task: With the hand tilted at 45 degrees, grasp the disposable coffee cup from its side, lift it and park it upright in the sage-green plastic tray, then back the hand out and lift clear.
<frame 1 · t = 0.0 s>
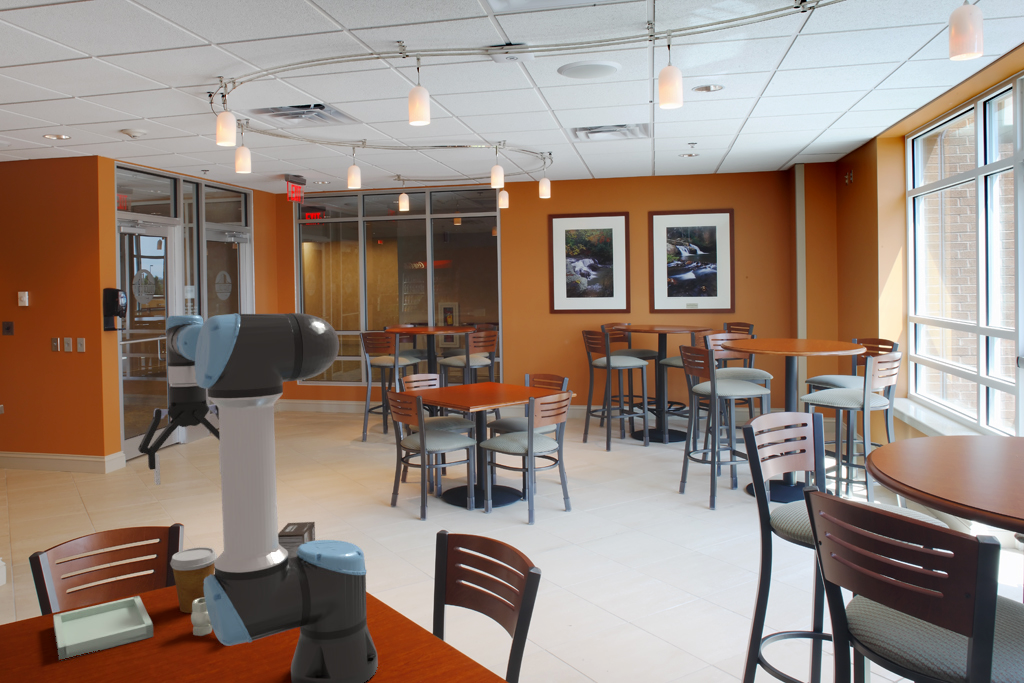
hand: (191, 478, 157), 28 cm above the table, tool pointing down, fingers open, 13 cm apart
tray: (102, 631, 144), on the table
coffee box: (298, 597, 160), on the table
disposable coffee cup: (195, 607, 155), on the table
valve: (219, 635, 142), on the table
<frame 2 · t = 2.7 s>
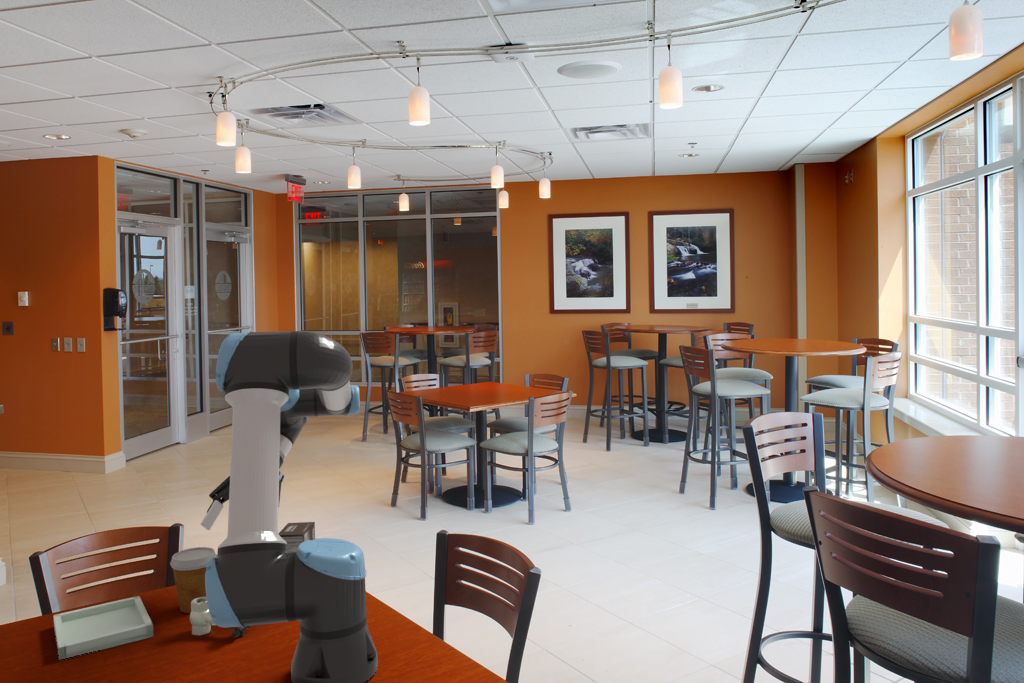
hand: (226, 530, 163), 14 cm above the table, tool tilted 45°, fingers open, 13 cm apart
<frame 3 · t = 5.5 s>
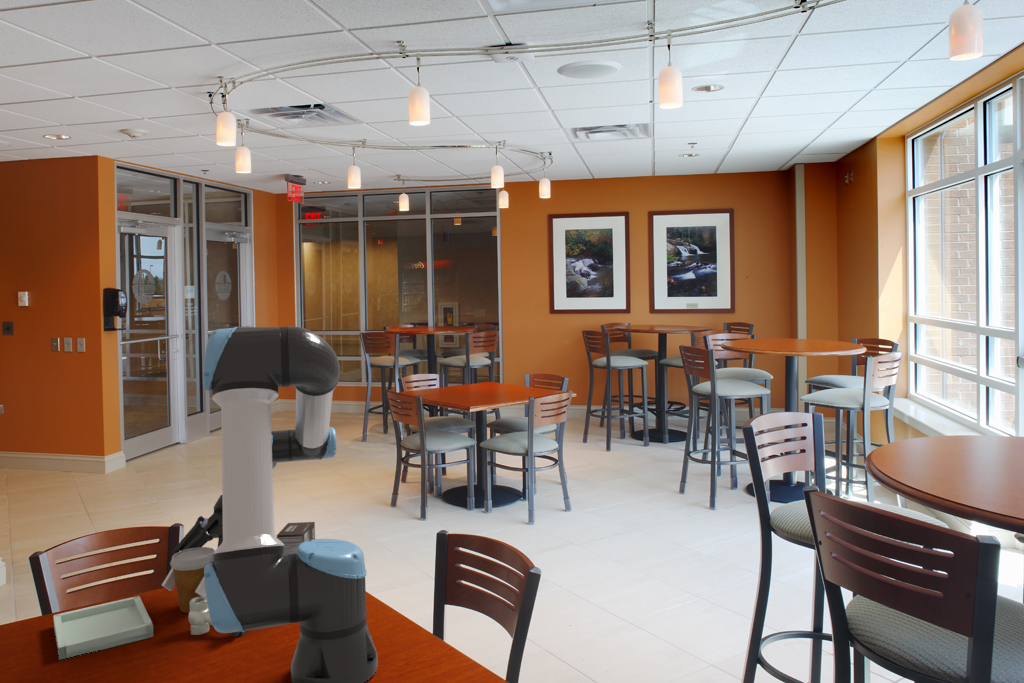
hand: (183, 591, 152), 5 cm above the table, tool tilted 45°, fingers closed on disposable coffee cup, 9 cm apart
disposable coffee cup: (195, 607, 155), on the table, touching gripper
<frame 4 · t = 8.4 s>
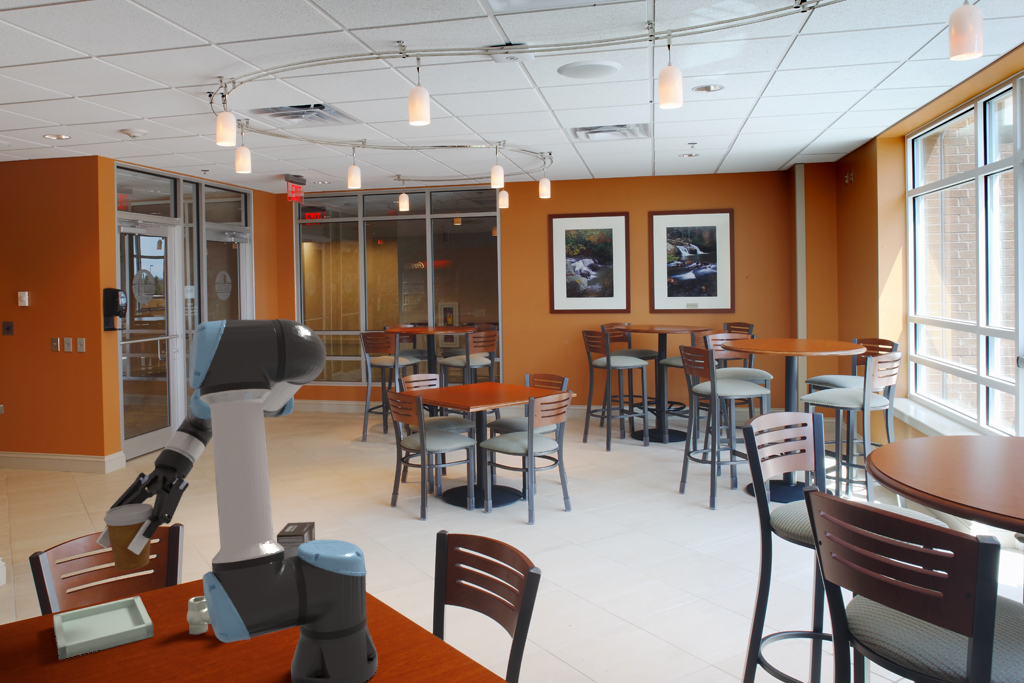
hand: (117, 548, 145), 17 cm above the table, tool tilted 45°, fingers closed on disposable coffee cup, 9 cm apart
disposable coffee cup: (132, 565, 148), point 12 cm above the table, touching gripper
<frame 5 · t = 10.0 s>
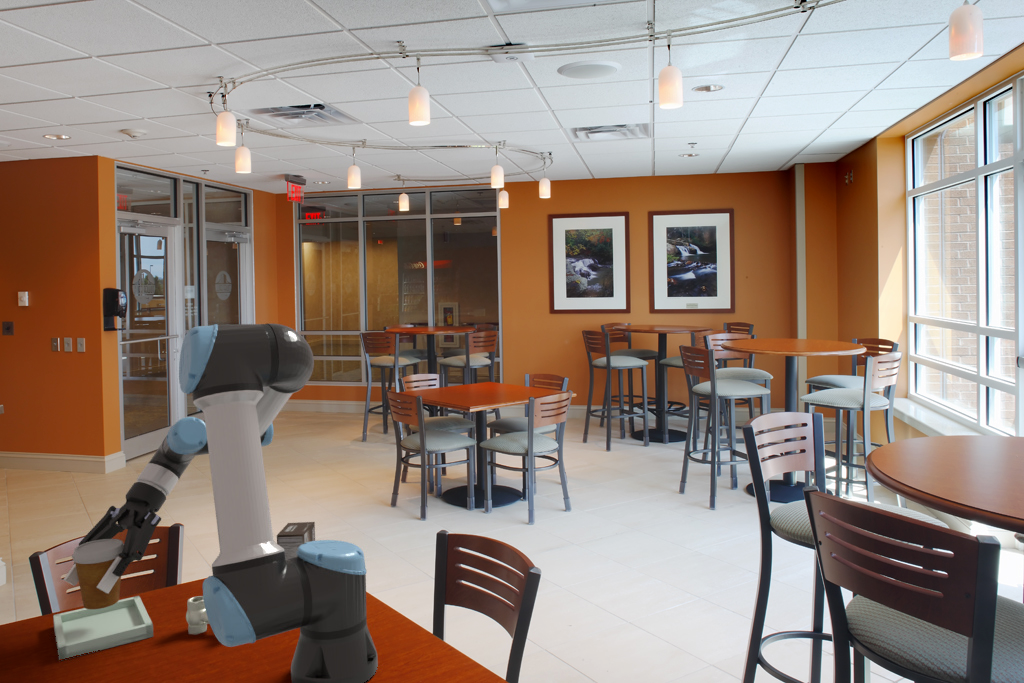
hand: (85, 586, 141), 10 cm above the table, tool tilted 45°, fingers closed on disposable coffee cup, 9 cm apart
disposable coffee cup: (101, 604, 144), point 6 cm above the table, touching gripper
when the fingers open (7 cm above the table, at t = 11.1 s): disposable coffee cup drops 1 cm, resting on tray.
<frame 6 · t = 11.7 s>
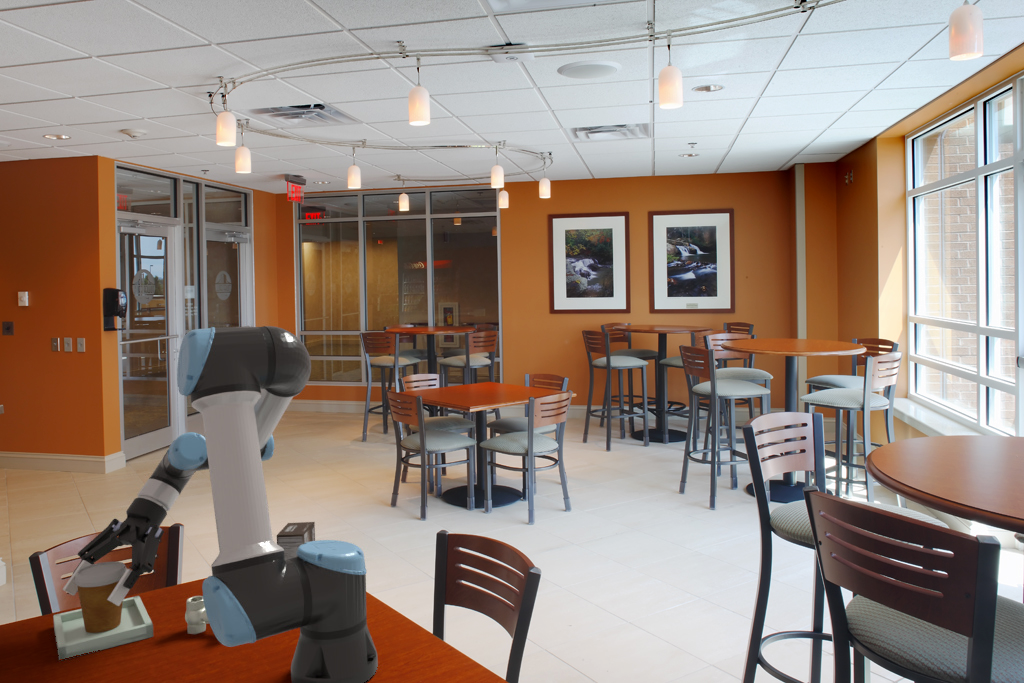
hand: (90, 597, 141), 8 cm above the table, tool tilted 45°, fingers open, 13 cm apart
disposable coffee cup: (103, 627, 144), point 1 cm above the table, touching tray
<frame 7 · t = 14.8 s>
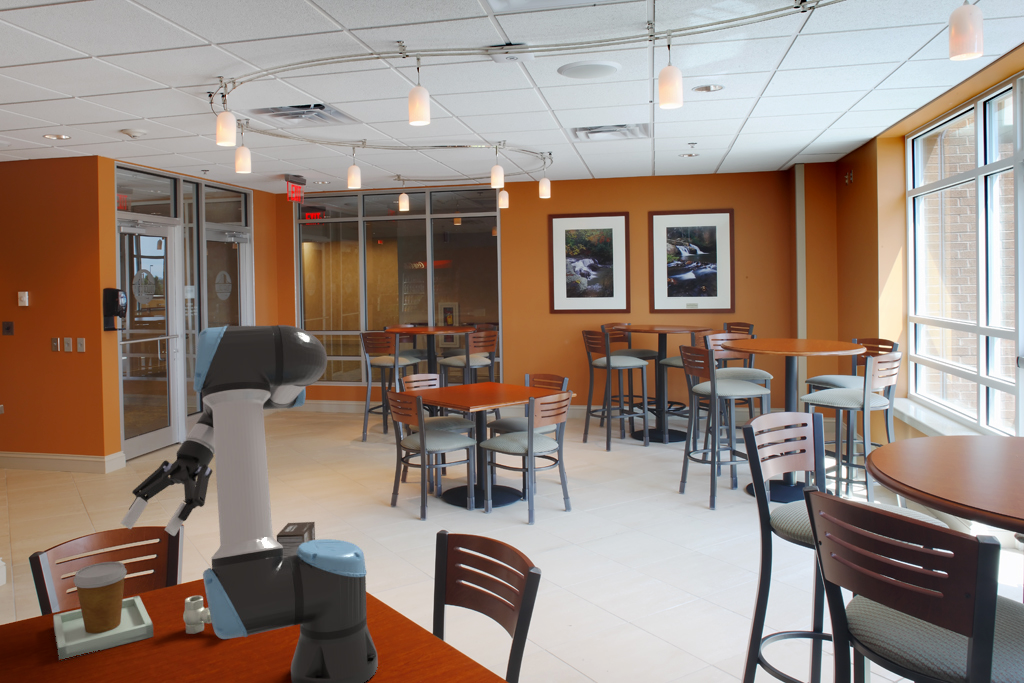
hand: (147, 529, 153), 18 cm above the table, tool tilted 45°, fingers open, 13 cm apart
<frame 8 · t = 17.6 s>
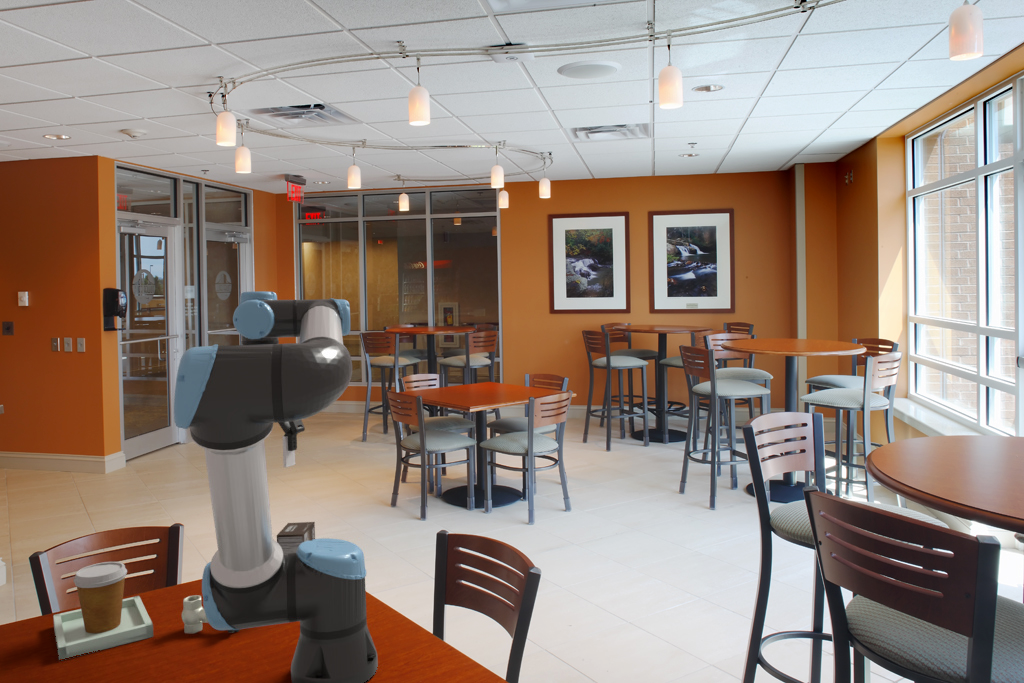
hand: (264, 463, 149), 33 cm above the table, tool pointing down, fingers open, 13 cm apart
at the end: disposable coffee cup inside the target area on the tray (0.1 cm from its centre), point 0.8 cm above the tray's base; disposable coffee cup tilted 0°; the gripper is holding nothing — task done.
